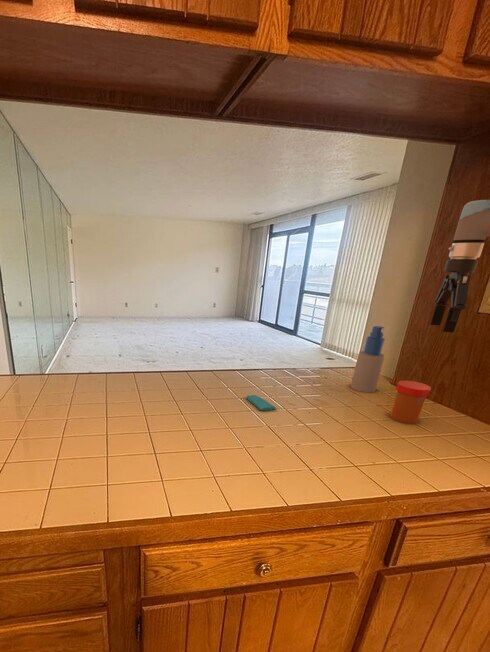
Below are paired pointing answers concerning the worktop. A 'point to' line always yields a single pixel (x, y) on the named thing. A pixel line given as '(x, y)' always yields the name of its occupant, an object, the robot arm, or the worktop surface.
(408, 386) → the lid
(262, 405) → the sponge
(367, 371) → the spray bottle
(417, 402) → the jar
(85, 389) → the worktop surface
